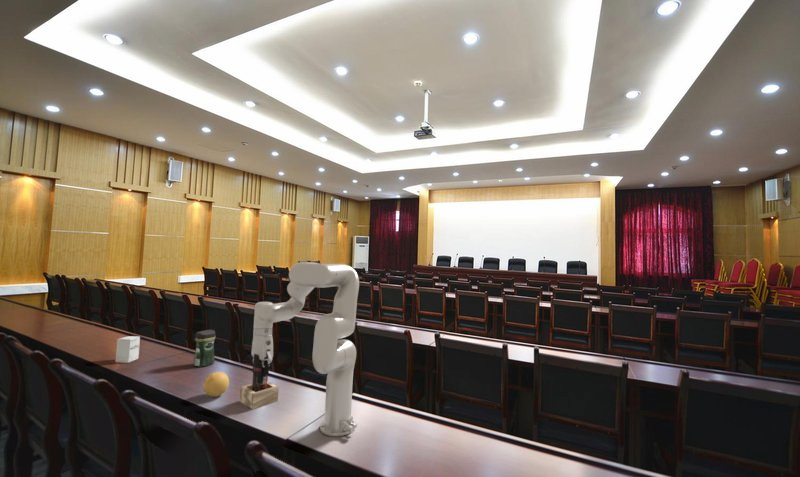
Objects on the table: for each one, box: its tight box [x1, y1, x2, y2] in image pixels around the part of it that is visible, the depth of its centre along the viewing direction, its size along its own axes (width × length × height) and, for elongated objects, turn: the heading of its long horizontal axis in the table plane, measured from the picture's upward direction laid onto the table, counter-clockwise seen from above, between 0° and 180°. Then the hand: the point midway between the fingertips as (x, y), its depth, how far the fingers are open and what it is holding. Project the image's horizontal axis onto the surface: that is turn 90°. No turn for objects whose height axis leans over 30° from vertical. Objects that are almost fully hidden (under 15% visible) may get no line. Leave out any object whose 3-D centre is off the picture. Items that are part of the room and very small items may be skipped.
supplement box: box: [115, 335, 141, 364], centre depth 190 cm, size 7×7×13 cm
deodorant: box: [251, 354, 269, 392], centre depth 145 cm, size 6×6×15 cm
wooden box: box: [239, 381, 279, 410], centre depth 145 cm, size 11×11×6 cm
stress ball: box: [202, 371, 230, 398], centre depth 149 cm, size 10×10×10 cm
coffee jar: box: [193, 329, 216, 368], centre depth 188 cm, size 10×8×19 cm
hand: (260, 373), depth 145 cm, fingers closed on deodorant, 6 cm apart
